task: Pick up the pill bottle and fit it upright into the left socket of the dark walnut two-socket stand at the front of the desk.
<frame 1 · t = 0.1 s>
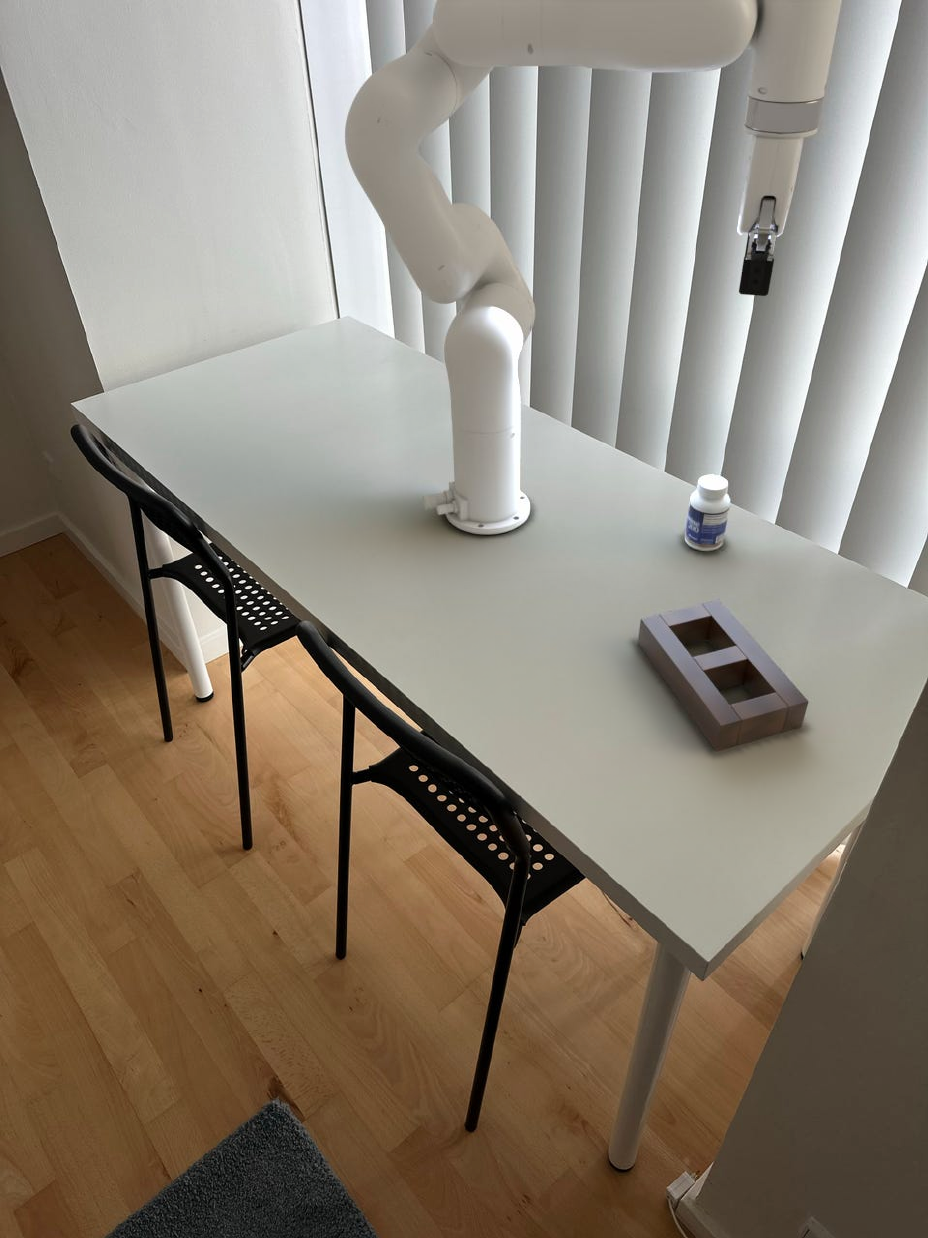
hand: (755, 278, 110), 37 cm above the table, tool pointing down, fingers open, 9 cm apart
pill bottle: (703, 542, 134), on the table
stand: (715, 682, 112), on the table
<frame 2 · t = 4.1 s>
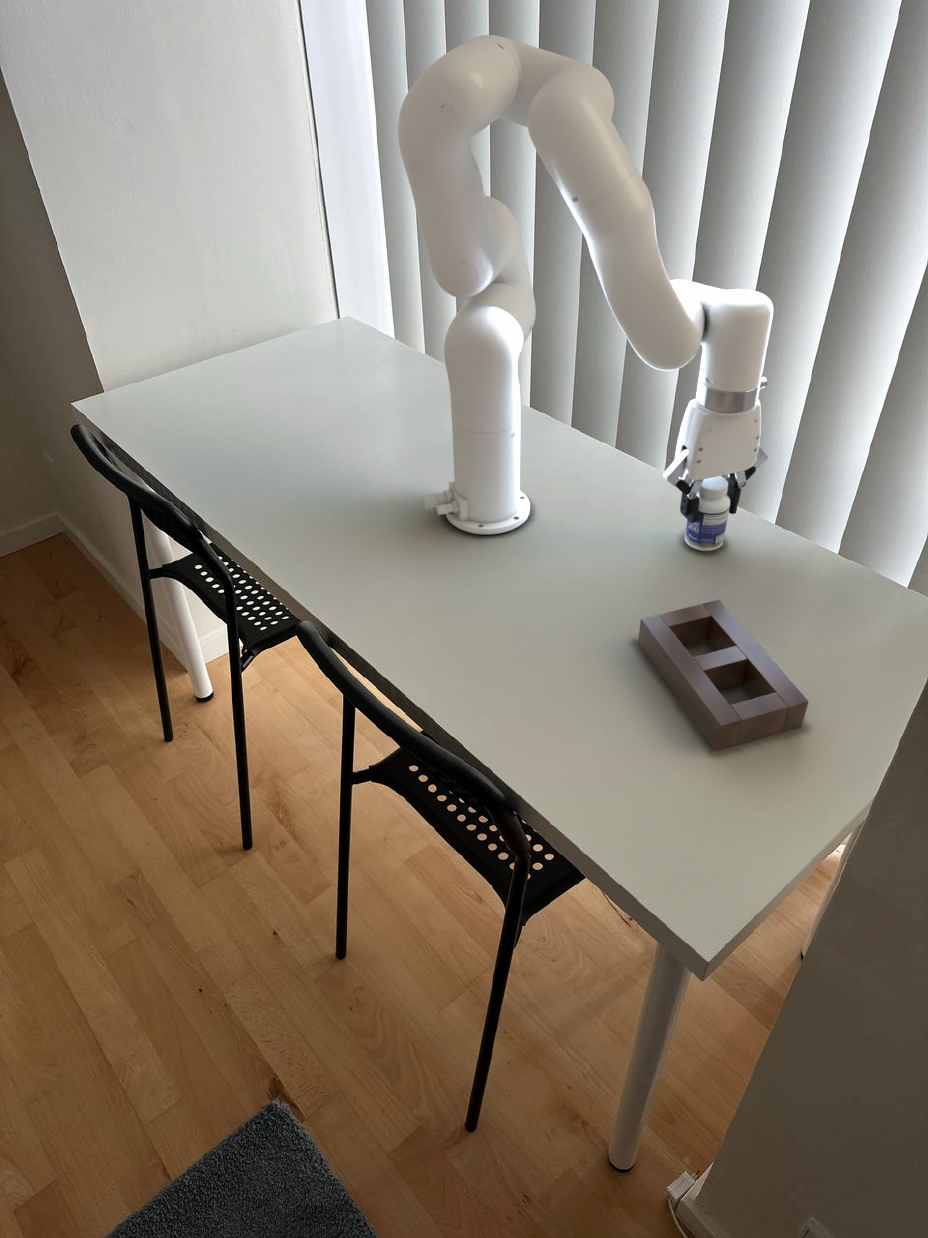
hand: (708, 512, 131), 5 cm above the table, tool pointing down, fingers closed on pill bottle, 5 cm apart
pill bottle: (703, 542, 134), on the table, touching gripper
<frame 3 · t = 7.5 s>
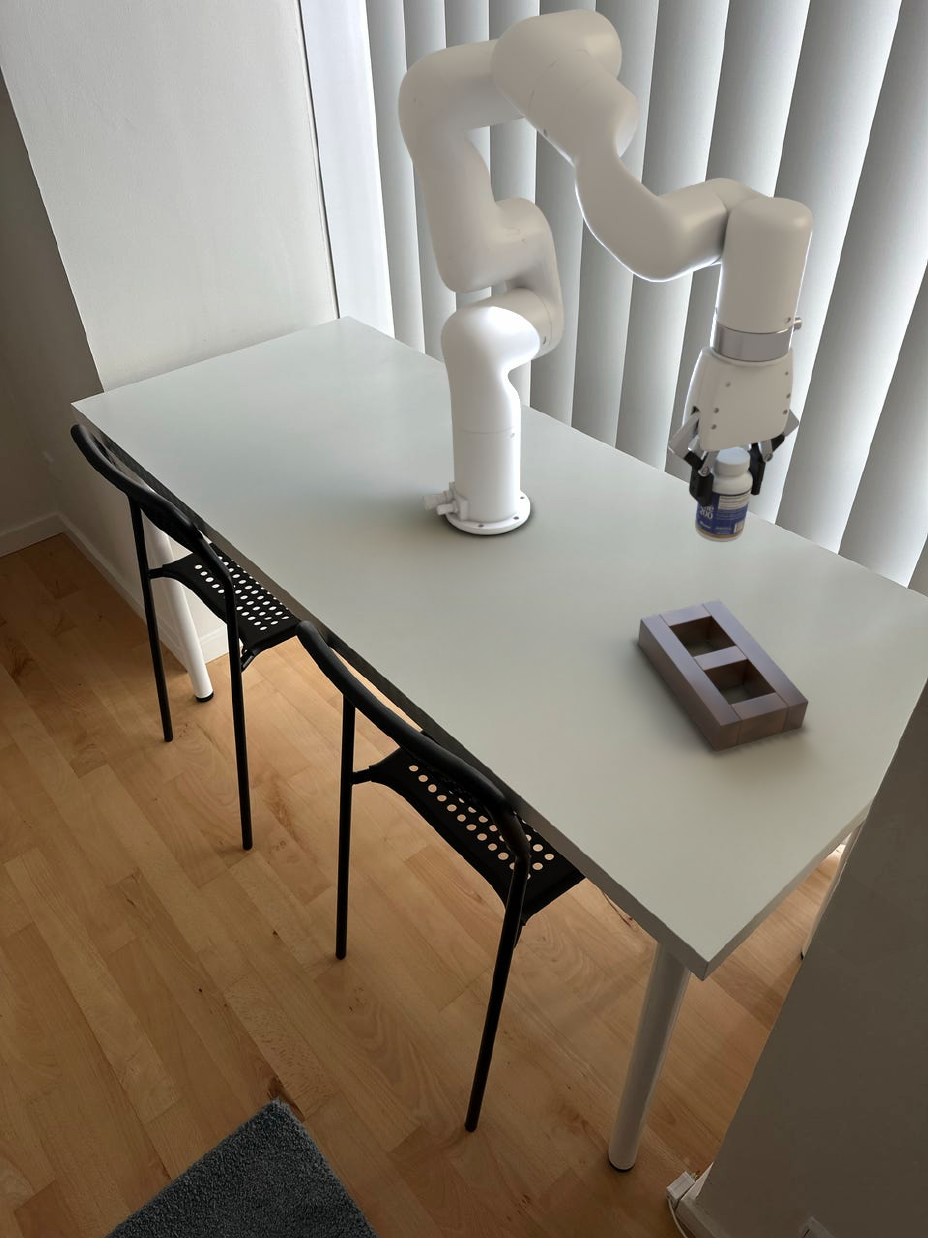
hand: (724, 493, 104), 22 cm above the table, tool pointing down, fingers closed on pill bottle, 5 cm apart
pill bottle: (717, 531, 107), point 16 cm above the table, touching gripper
when the fingers open (5 cm above the table, at t = 11.2 s): pill bottle stays where it is, resting in stand.
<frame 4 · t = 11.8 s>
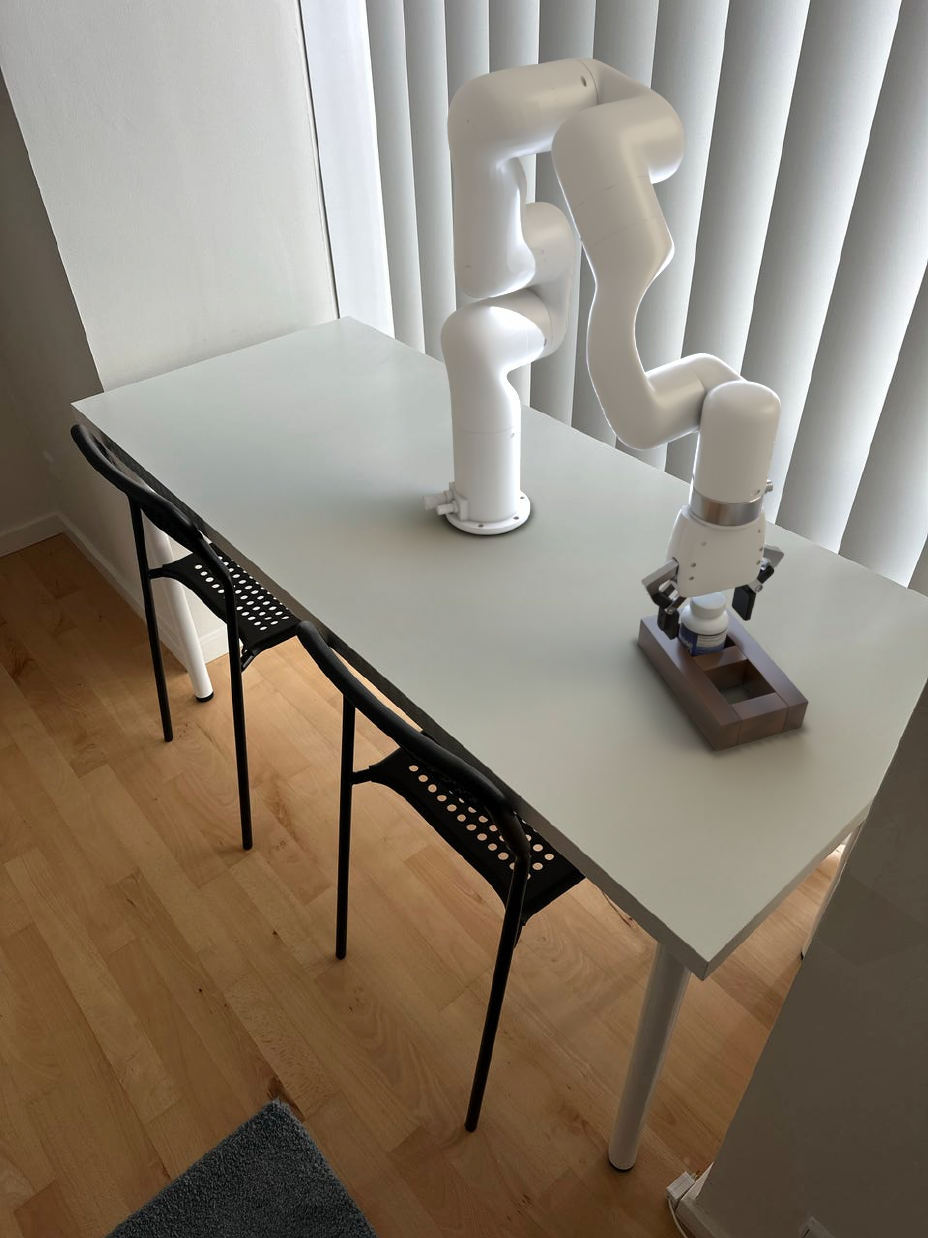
hand: (704, 622, 111), 6 cm above the table, tool pointing down, fingers open, 9 cm apart
pill bottle: (697, 661, 115), resting in stand
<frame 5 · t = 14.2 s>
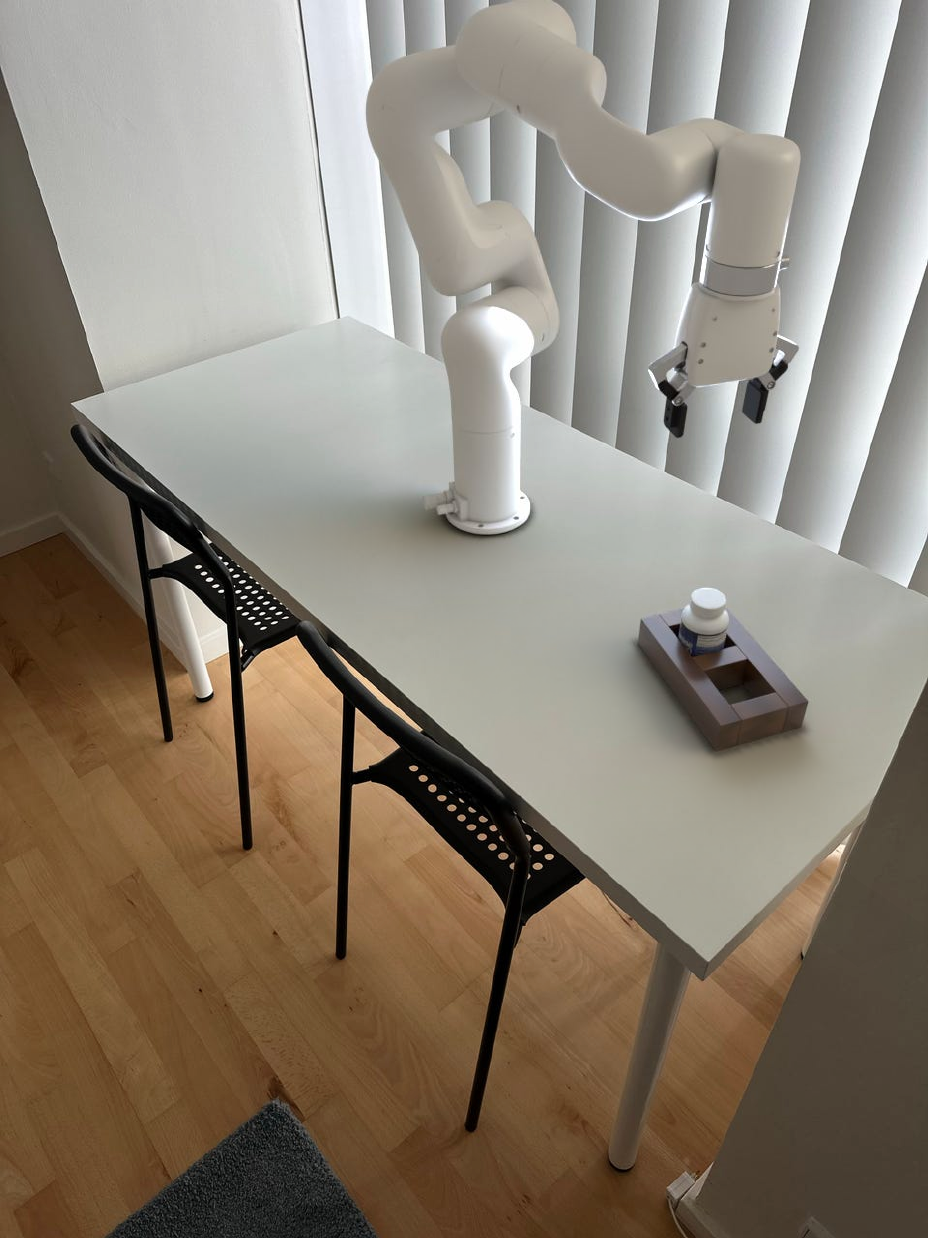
hand: (712, 424, 106), 26 cm above the table, tool pointing down, fingers open, 9 cm apart
nothing on the table moved.
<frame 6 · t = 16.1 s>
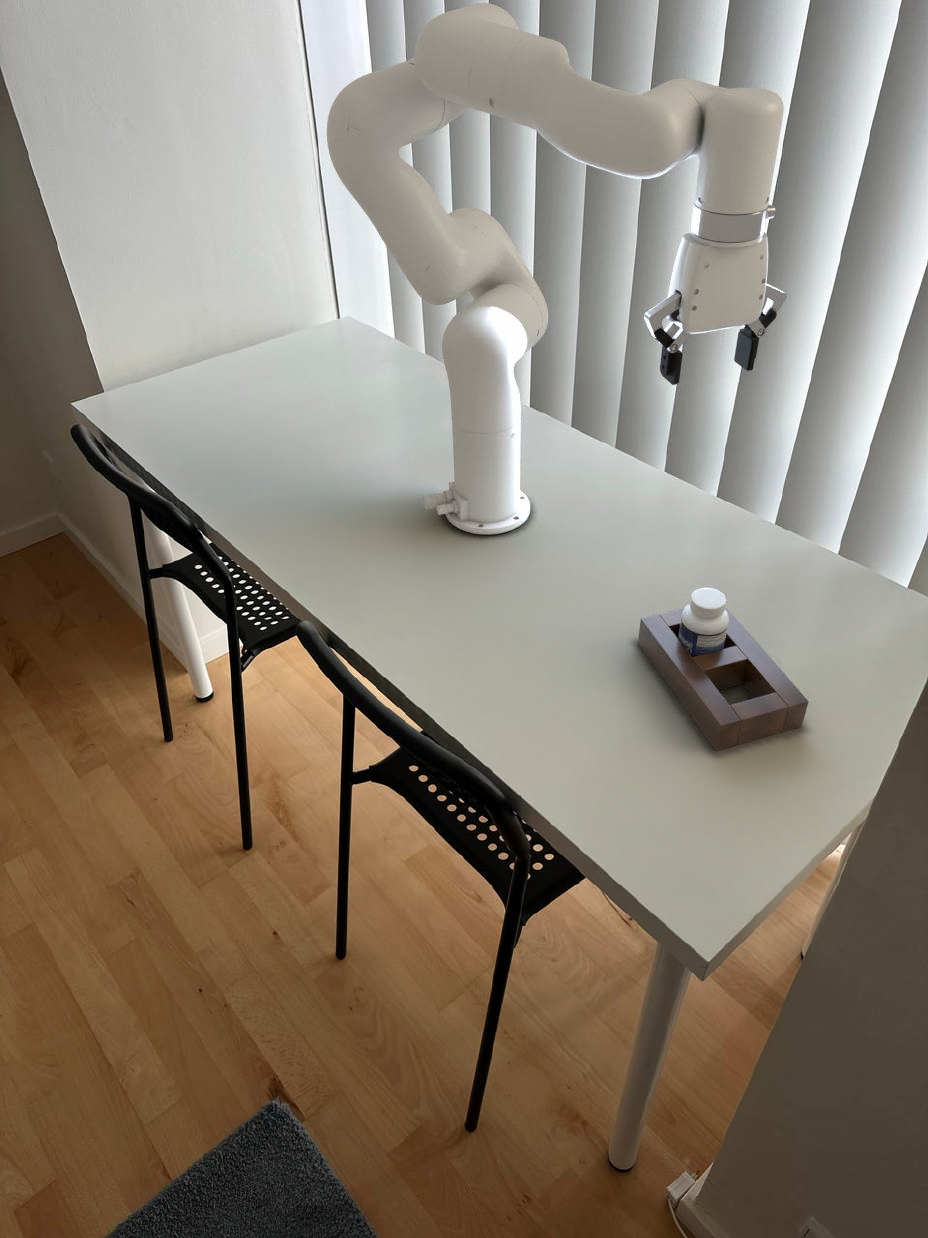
hand: (706, 372, 111), 28 cm above the table, tool pointing down, fingers open, 9 cm apart
nothing on the table moved.
at the end: pill bottle 0.0 cm from the target spot in the stand, point 0.0 cm above the stand's base; pill bottle tilted 0°; the gripper is holding nothing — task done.
